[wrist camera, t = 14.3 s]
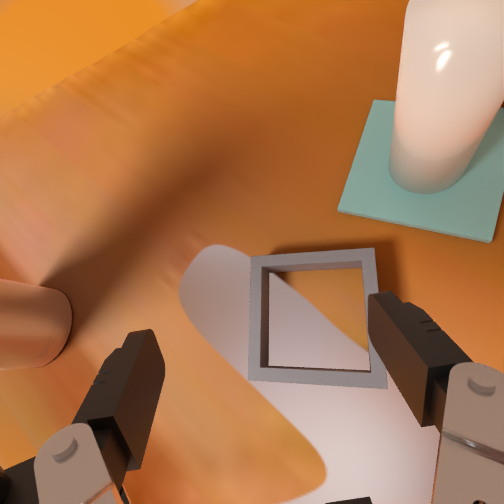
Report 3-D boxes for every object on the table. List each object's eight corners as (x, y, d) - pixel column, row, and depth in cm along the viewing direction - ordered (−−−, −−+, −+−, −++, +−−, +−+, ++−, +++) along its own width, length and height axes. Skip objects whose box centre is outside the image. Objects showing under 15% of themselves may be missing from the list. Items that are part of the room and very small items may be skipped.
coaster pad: (337, 211, 29) (337, 209, 28) (373, 104, 31) (373, 99, 30) (488, 243, 24) (492, 240, 24) (520, 113, 26) (523, 108, 25)
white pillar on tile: (471, 189, 25) (577, 31, 12) (391, 198, 27) (411, 69, 14) (456, 106, 27) (533, -100, 15) (383, 120, 29) (395, -50, 17)
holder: (385, 385, 24) (387, 389, 21) (257, 377, 27) (247, 380, 25) (373, 256, 27) (374, 247, 24) (259, 263, 30) (251, 256, 28)
